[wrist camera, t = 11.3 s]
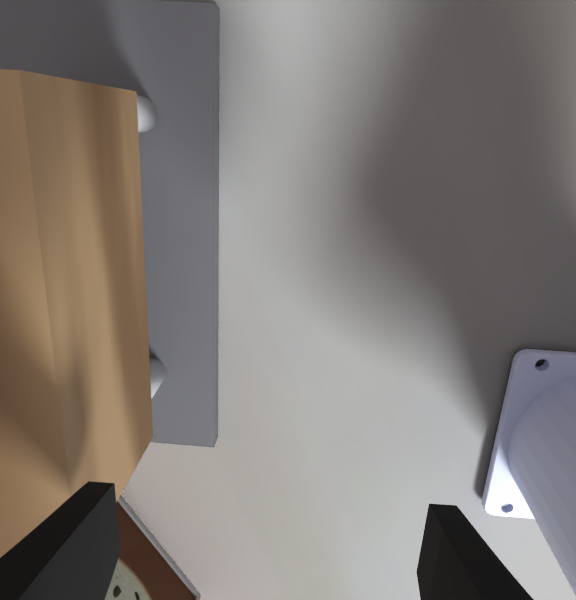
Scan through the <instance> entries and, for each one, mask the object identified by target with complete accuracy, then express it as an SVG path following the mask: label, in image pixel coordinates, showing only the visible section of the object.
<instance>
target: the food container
mask: <svg viewBox="0 0 576 600" xmlns="http://www.w3.org/2000/svg"><path fill="white" fill-rule="evenodd" d="M116 506H117V518H118V529H119V541H120V555H119V558H118V561H117V564H116V567H115V570H114V574H113V577H112V580H111V583H110V586H109V589H108V591H107V594H106V597H105V600H200V594H199V592H198V591H197V590H196V589H195V587H194V586H193V585H192V584H191V582H190V581H189V580H188V579H187V577H186V576H185V575H184V574H183V572H182V571H181V570H180V569H179V567H178V566H177V565H176V564H175V562H174V561H173V560H172V559H171V558H170V556H169V555H168V554H167V553H166V551H165V550H164V549H163V548H162V546H161V545H160V544H159V543H158V541H157V540H156V539H155V538H154V536H153V535H152V534H151V533H150V531H149V530H148V529H147V528H146V526H145V525H144V524H143V523H142V521H141V520H140V519H139V518H138V516H137V515H136V514H135V513H134V511H133V510H132V509H131V508H130V506H129V505H128V504H127V503H126V501H125V500H124V499H123V498H122V496H121V495H120V497H119V499H118V500H117V502H116Z"/></svg>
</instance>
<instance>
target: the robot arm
mask: <svg viewBox="0 0 576 600" xmlns="http://www.w3.org/2000/svg"><path fill="white" fill-rule="evenodd" d="M540 359H545V362H544V364H543V365H541V366H538V367H536V366H535V364H536V362H537V361H538V360H540ZM506 503H509V505H507V506H502V505H503V504H506ZM482 506H483V508H484V510H485V512H486V513H488V514H490V515H495V516H506V517H517V518H528V519H535V520H536V522H537V524H538V526H539V528H540V530H541V531H542V533H543V535H544V537H545V539H546V541H547V543H548V545H549V546H550V548H551V550H552V552H553V554H554V556H555V558H556V560H557V561H558V563H559V565H560V567H561V569H562V571H563V573H564V575H565V576H566V578H567V580H568V582H569V584H570V586H571V588H572V590H573V591H574V593H575V595H576V352H563V351H550V350H536V349H523V350H521V351H519V352H518V353H517V354H516V355H515V356H514V358H513V362H512V366H511V371H510V375H509V380H508V384H507V389H506V393H505V398H504V402H503V407H502V411H501V416H500V420H499V425H498V429H497V434H496V438H495V443H494V447H493V452H492V456H491V461H490V465H489V470H488V474H487V479H486V483H485V488H484V492H483V497H482ZM119 555H120V541H119V529H118V518H117V506H116V494H115V483H106V482H90V481H88V482H87V483H86V484H85V485H84V486H82V487H81V488H80V489H79V490H78V491H77V492H75V493H74V494H73V495H72V496H71V497H70V498H69V499H68V500H66V501H65V502H64V503H63V504H62V505H61V506H60V507H59V508H57V509H56V510H55V511H54V512H53V513H52V514H51V515H50V516H48V517H47V518H46V519H45V520H44V521H43V522H42V523H40V524H39V525H38V526H37V527H36V528H35V529H34V530H32V531H31V532H30V533H29V534H28V535H27V536H25V537H24V538H23V539H22V540H21V541H20V542H18V543H17V544H16V545H15V546H14V547H13V548H11V549H10V550H9V551H8V552H7V553H5V554H4V555H3V556H2V557H1V558H0V600H105V597H106V594H107V591H108V589H109V586H110V583H111V580H112V577H113V574H114V570H115V567H116V564H117V561H118V558H119ZM417 577H418V583H419V590H420V597H421V600H533V599H532V598H531V596H530V595H529V594H528V593H527V592H526V591H525V589H524V588H523V587H522V586H521V585H520V584H519V582H518V581H517V580H516V579H515V578H514V577H513V575H512V574H511V573H510V572H509V571H508V570H507V568H506V567H505V566H504V565H503V563H502V562H501V561H500V560H499V559H498V557H497V556H496V555H495V554H494V552H493V551H492V550H491V549H490V547H489V546H488V545H487V544H486V542H485V541H484V540H483V539H482V537H481V536H480V535H479V534H478V532H477V531H476V530H475V528H474V527H473V526H472V525H471V523H470V522H469V521H468V519H467V518H466V517H465V516H464V514H463V513H462V512H461V511H460V509H459V508H458V507H457V506H454V505H439V504H429V508H428V513H427V519H426V524H425V530H424V535H423V541H422V546H421V552H420V557H419V563H418V568H417Z"/></svg>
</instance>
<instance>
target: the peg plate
mask: <svg viewBox="0 0 576 600" xmlns="http://www.w3.org/2000/svg"><path fill="white" fill-rule="evenodd" d="M0 69H8V70H22V71H27V72H33V73H38V74H44V75H49V76H55V77H60V78H66V79H71V80H77V81H82V82H88V83H93V84H99V85H104V86H110V87H115V88H121V89H126V90H132V91H136V93H137V114H138V134H139V155H140V175H141V196H142V216H143V237H144V257H145V278H146V298H147V319H148V339H149V360H150V381H151V401H152V422H153V437H152V439H151V441H150V442H157V443H169V444H181V445H192V446H204V447H214V446H215V443H216V440H217V437H218V216H219V7H218V6H217V5H216V4H215V3H211V2H187V1H162V0H0Z"/></svg>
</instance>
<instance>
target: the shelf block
mask: <svg viewBox="0 0 576 600" xmlns="http://www.w3.org/2000/svg"><path fill="white" fill-rule="evenodd" d="M152 437H153V422H152V401H151V381H150V360H149V339H148V319H147V298H146V278H145V257H144V237H143V216H142V196H141V175H140V155H139V134H138V114H137V93H136V91H132V90H126V89H121V88H115V87H110V86H104V85H99V84H93V83H88V82H82V81H77V80H71V79H66V78H60V77H55V76H49V75H44V74H38V73H33V72H27V71H22V70H8V69H0V558H1V557H2V556H3V555H4V554H5V553H7V552H8V551H9V550H10V549H11V548H13V547H14V546H15V545H16V544H17V543H18V542H20V541H21V540H22V539H23V538H24V537H25V536H27V535H28V534H29V533H30V532H31V531H32V530H34V529H35V528H36V527H37V526H38V525H39V524H40V523H42V522H43V521H44V520H45V519H46V518H47V517H48V516H50V515H51V514H52V513H53V512H54V511H55V510H56V509H57V508H59V507H60V506H61V505H62V504H63V503H64V502H65V501H66V500H68V499H69V498H70V497H71V496H72V495H73V494H74V493H75V492H77V491H78V490H79V489H80V488H81V487H82V486H84V485H85V484H86V483H87V482H88V481H90V482H106V483H115V494H116V502H117V500H118V499H119V497H120V495H121V493H122V491H123V490H124V488H125V486H126V484H127V482H128V481H129V479H130V477H131V475H132V473H133V472H134V470H135V468H136V466H137V464H138V463H139V461H140V459H141V457H142V455H143V454H144V452H145V450H146V448H147V446H148V445H149V443H150V441H151V439H152Z"/></svg>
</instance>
